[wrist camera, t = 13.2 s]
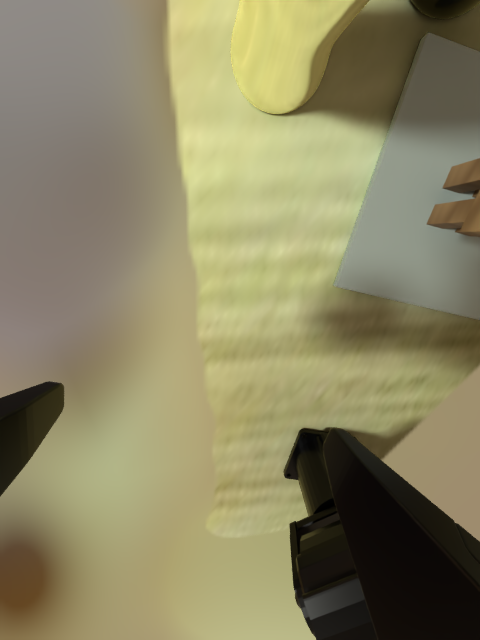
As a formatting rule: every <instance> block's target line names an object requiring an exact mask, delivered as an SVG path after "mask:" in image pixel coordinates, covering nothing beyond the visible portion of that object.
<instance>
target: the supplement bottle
mask: <svg viewBox="0 0 480 640" xmlns="http://www.w3.org/2000/svg"><path fill="white" fill-rule="evenodd" d="M411 2H412V3H413V4H414V6H415V7H416V8H417V9H418V10H419V11H421V12H422V13H423V14H425V15H427V16H429V17H432V18H437V19H448V18H453V17H457V16H460V15H462V14H464V13H466V12H468V11H470V10H471V9H473V8H474V7H476V6H477V5H478V4H480V0H411Z"/></svg>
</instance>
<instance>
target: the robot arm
mask: <svg viewBox="0 0 480 640" xmlns="http://www.w3.org/2000/svg"><path fill="white" fill-rule="evenodd" d="M63 407H64V386H63V384H62V383H57V382H50V381H49V382H45V383H42V384H39V385H36V386H33V387H30V388H28V389H25V390H22V391H19V392H16V393H13V394H10V395H7V396H5V397H2V398H0V496H1V495H2V494H3V492H4V491H5V490H6V489H7V488H8V486H9V485H10V484H11V483H12V481H13V480H14V479H15V477H16V476H17V475H18V474H19V473H20V471H21V470H22V469H23V468H24V466H25V465H26V464H27V463H28V461H29V460H30V458H31V457H32V456H33V454H34V452H35V451H36V450H37V448H38V447H39V445H40V444H41V442H42V441H43V439H44V438H45V436H46V435H47V433H48V432H49V430H50V429H51V427H52V426H53V424H54V423H55V421H56V420H57V419H58V417H59V415H60V414H61V412H62V410H63ZM303 434H305V435H303ZM284 476H285V478H288V479H295V480H298V481H299V484H300V488H301V491H302V495H303V498H304V502H305V505H306V509H307V512H308V516H309V517H306V518H304V519H302V520H300V521H297V522H296V521H294V522H292V523H290V544H291V558H292V572H293V585H294V590H295V599H296V602H297V605H298V606H299V607H300V608H301V610H302V612H303V615H304V618H305V620H306V622H307V624H308V627H309V628H310V630H311V632H312V634H313V635H314V636H315V637H316V640H480V542H479V541H478V540H477V539H476V538H474V537H473V536H472V535H471V534H470V533H468V532H467V531H466V530H465V529H464V528H462V527H461V526H460V525H459V524H457V523H455V522H454V520H453V519H451V518H450V517H449V516H448V515H447V514H445V513H444V512H443V511H442V510H441V509H439V508H438V507H437V506H436V505H434V504H433V503H432V502H431V501H430V500H428V499H427V498H426V497H425V496H424V495H422V494H421V493H420V492H419V491H418V490H416V489H415V488H414V487H413V486H412V485H410V484H409V483H408V482H407V481H405V480H404V479H403V478H402V477H400V476H399V475H398V474H397V473H396V472H395V471H393V470H392V469H391V468H390V467H389V466H387V465H386V464H385V463H384V462H383V461H381V460H380V459H379V458H378V457H377V456H375V455H374V454H373V453H372V452H370V451H369V450H368V449H367V448H366V447H364V446H363V445H362V444H361V443H360V442H358V440H357V439H356V438H355V437H352V436H351V435H350V434H349V433H348V432H346V431H345V430H344V429H340V428H331V429H330V431H329V433H325V432H319V431H312V430H306V429H302V430H300V431H299V433H298V436H297V438H296V441H295V443H294V446H293V448H292V451H291V454H290V456H289V459H288V461H287V464H286V467H285V469H284Z"/></svg>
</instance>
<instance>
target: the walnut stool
mask: <svg viewBox="0 0 480 640" xmlns="http://www.w3.org/2000/svg"><path fill="white" fill-rule="evenodd" d="M443 189H446V190H450V191H453V192H456V193H463V192H468V191H474V190H475V192H474V194H473V196H472V197H473V198H474V199H468V200H461V201H455V202H448V203H442V204H435V206H434V208H433V210H432V212H431V215H430V217H429V219H428V222H427V225H430V226H434V227H438V228H441V229H450V228H457V229H456V231H455V232H456V233H460V234H463V235H467V236H476V237H480V158H478V159H475V160H472V161H468V162H465V163H462V164H459V165H456V166H452V167H451V169H450V172H449V174H448V176H447V178H446V181H445V183H444V185H443Z"/></svg>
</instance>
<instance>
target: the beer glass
mask: <svg viewBox="0 0 480 640" xmlns="http://www.w3.org/2000/svg"><path fill="white" fill-rule="evenodd" d="M369 1H370V0H239V8H238V12H237V16H236V20H235V24H234V28H233V32H232V38H231V63H232V68H233V73H234V76H235V80H236V82H237V85H238V87H239V89H240V90H241V92H242V94H243V95H244V96H245V98H246V99H247V100H248V101H249V102H250V103H251V104H252V105H253V106H255V107H256V108H258V109H259V110H261V111H264V112H266V113H270V114H285V113H289V112H291V111H294V110H296V109H298V108H299V107H301V106H302V105H303V104H305V103H306V102H307V101H308V100H309V99H310V98H311V96H312V95H313V94H314V92H315V91H316V89H317V88H318V86H319V84H320V82H321V80H322V77H323V75H324V72H325V69H326V66H327V63H328V59H329V56H330V52H331V49H332V47H333V45H334V43H335V42H336V40H337V39H338V37H339V36H340V35H341V34H342V32H343V31H344V30H345V29H346V27H347V26H348V25H349V24H350V23H351V22H352V20H353V19H354V18H355V17H356V16H357V15H358V14H359V12H360V11H361V10H362V9H363V8H364V7H365V5H366V4H367V3H368V2H369Z"/></svg>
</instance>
